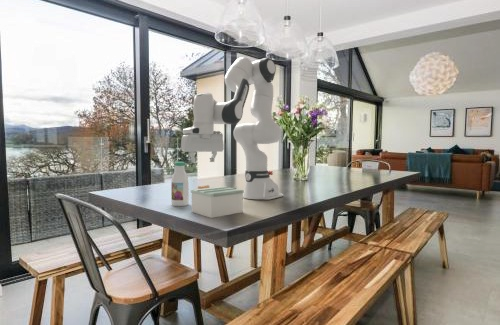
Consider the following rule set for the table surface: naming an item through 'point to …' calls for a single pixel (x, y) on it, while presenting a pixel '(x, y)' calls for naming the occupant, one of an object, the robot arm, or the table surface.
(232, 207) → the box
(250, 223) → the table surface
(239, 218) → the table surface
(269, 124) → the robot arm
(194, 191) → the snap lid
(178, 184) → the milk bottle
